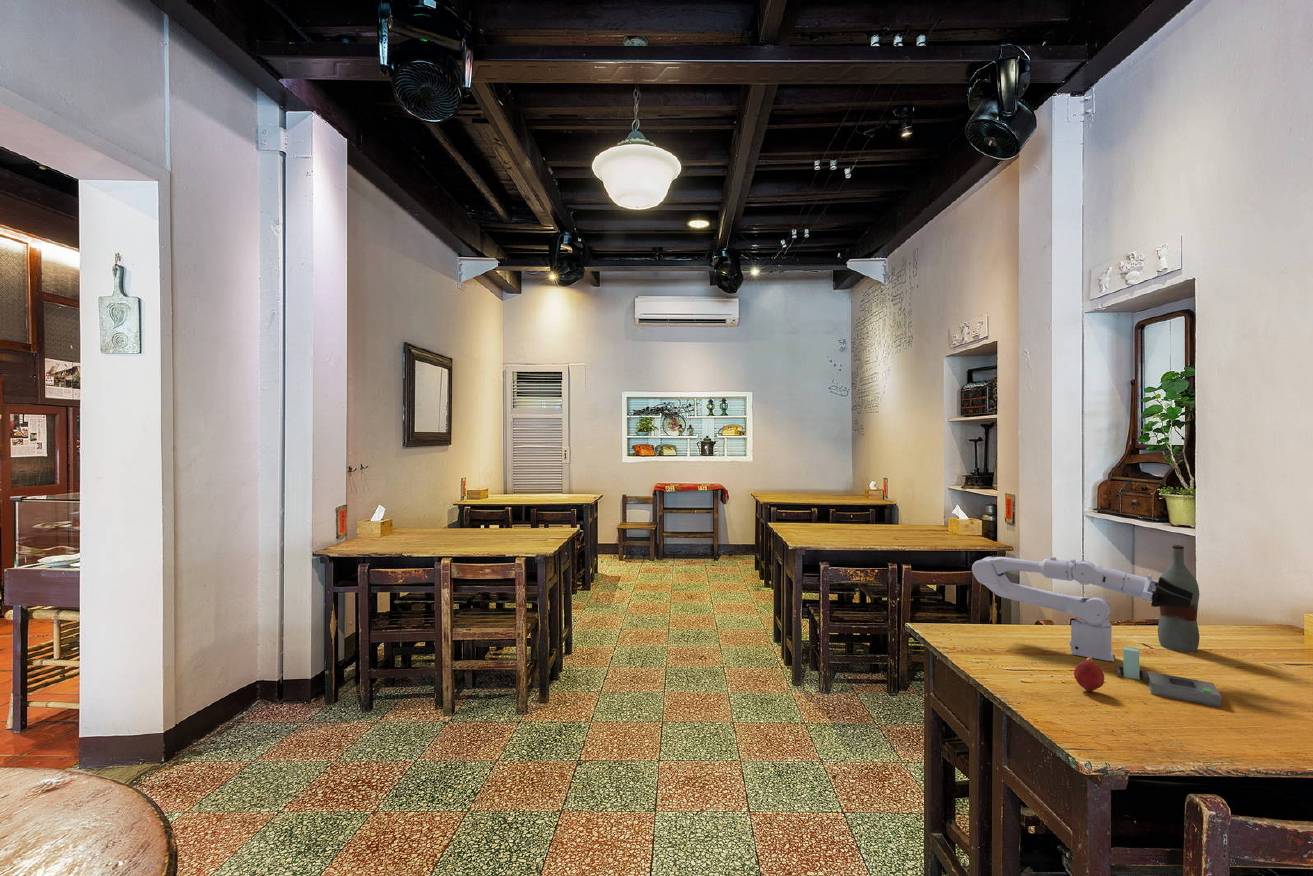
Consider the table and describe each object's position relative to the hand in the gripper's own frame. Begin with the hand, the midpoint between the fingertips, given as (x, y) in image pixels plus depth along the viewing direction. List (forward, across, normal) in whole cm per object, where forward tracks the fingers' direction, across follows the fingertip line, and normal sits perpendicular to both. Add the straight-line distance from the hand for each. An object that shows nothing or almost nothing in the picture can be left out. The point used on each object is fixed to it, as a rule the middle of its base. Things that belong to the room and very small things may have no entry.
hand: (1191, 600), depth 150 cm
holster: (-8, -14, +20) cm, 25 cm away
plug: (-8, -14, +20) cm, 25 cm away
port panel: (+2, -19, +18) cm, 26 cm away
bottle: (-1, +24, +22) cm, 33 cm away
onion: (-14, -33, +19) cm, 41 cm away
